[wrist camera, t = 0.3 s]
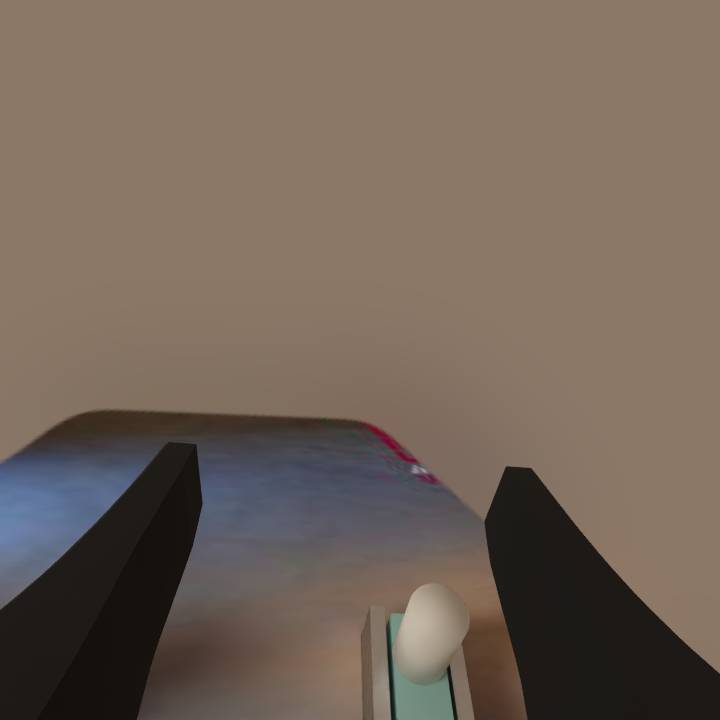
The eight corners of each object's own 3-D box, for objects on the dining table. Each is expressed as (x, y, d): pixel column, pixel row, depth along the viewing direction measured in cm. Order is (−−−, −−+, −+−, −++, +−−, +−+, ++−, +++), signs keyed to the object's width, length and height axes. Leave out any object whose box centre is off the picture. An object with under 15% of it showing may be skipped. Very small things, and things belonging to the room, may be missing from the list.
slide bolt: (451, 827, 23) (501, 783, 18) (390, 827, 22) (425, 782, 18) (428, 640, 29) (461, 572, 24) (380, 638, 29) (404, 569, 24)
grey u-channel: (466, 817, 24) (487, 798, 22) (364, 817, 23) (376, 797, 21) (441, 638, 30) (455, 609, 28) (361, 635, 30) (369, 605, 27)
